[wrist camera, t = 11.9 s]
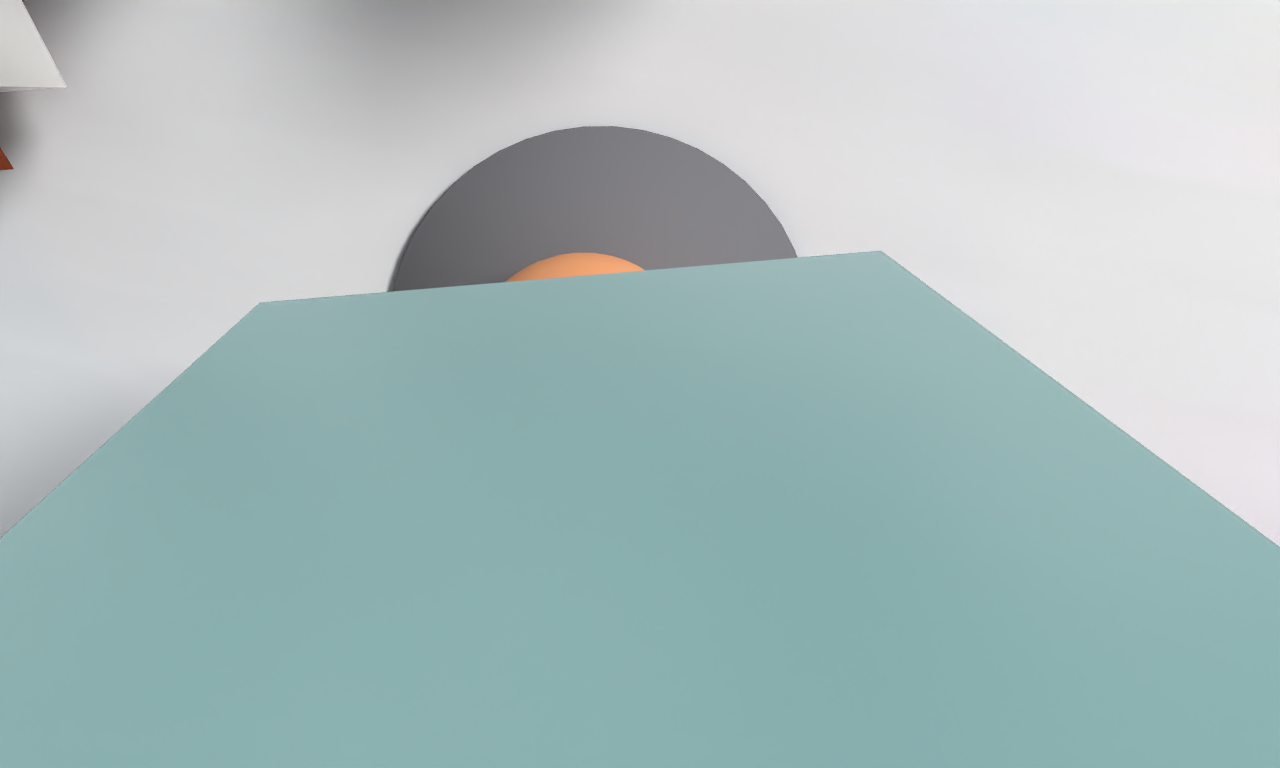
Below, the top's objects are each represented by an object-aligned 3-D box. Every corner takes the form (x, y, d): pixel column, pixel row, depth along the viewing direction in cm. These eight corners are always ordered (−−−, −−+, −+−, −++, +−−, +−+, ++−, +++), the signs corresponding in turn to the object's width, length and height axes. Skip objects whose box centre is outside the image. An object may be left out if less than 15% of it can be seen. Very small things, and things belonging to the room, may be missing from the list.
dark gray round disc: (809, 507, 24) (811, 510, 24) (425, 541, 24) (423, 545, 24) (808, 109, 21) (810, 110, 21) (356, 143, 21) (354, 145, 20)
